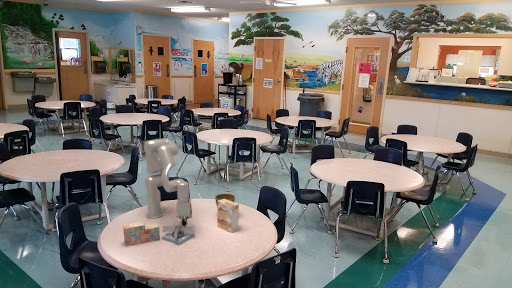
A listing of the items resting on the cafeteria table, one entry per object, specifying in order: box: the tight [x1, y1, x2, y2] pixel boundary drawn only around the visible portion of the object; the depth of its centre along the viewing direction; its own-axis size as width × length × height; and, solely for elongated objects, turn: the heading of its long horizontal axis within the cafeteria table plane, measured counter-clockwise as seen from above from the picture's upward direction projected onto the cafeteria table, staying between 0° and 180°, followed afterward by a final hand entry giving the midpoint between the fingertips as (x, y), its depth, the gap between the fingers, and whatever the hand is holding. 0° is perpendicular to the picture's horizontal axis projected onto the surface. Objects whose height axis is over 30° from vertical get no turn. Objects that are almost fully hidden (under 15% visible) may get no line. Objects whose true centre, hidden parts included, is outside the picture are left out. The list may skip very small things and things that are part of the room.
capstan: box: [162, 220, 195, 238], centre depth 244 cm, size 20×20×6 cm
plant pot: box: [214, 193, 236, 206], centre depth 278 cm, size 15×15×16 cm
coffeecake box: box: [216, 199, 240, 234], centre depth 258 cm, size 15×7×20 cm, turn 47°
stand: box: [161, 232, 196, 246], centre depth 244 cm, size 15×15×2 cm
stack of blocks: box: [123, 221, 161, 247], centre depth 238 cm, size 21×6×12 cm, turn 117°
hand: (184, 225), depth 250 cm, fingers closed
